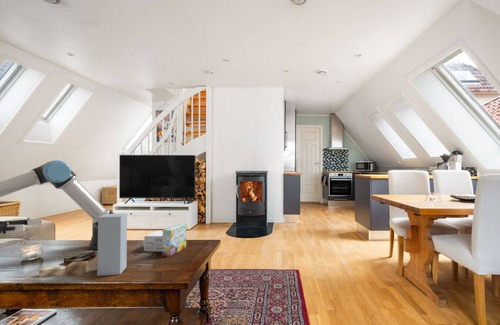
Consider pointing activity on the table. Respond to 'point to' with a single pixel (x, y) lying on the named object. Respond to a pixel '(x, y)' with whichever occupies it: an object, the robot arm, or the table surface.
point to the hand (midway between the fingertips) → (33, 224)
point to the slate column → (112, 244)
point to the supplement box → (153, 241)
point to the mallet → (66, 270)
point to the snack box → (173, 239)
